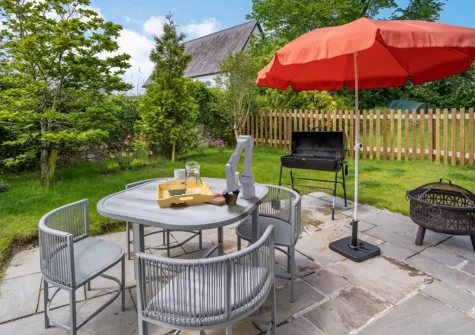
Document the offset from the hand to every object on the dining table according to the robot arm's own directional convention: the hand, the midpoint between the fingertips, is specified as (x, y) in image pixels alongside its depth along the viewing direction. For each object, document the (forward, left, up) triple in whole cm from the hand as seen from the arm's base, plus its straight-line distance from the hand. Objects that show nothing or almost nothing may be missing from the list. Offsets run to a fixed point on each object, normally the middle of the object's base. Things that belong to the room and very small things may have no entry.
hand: (231, 202), depth 196 cm
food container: (+18, -32, -2) cm, 37 cm away
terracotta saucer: (-2, -13, -2) cm, 13 cm away
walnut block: (0, 0, -2) cm, 2 cm away
